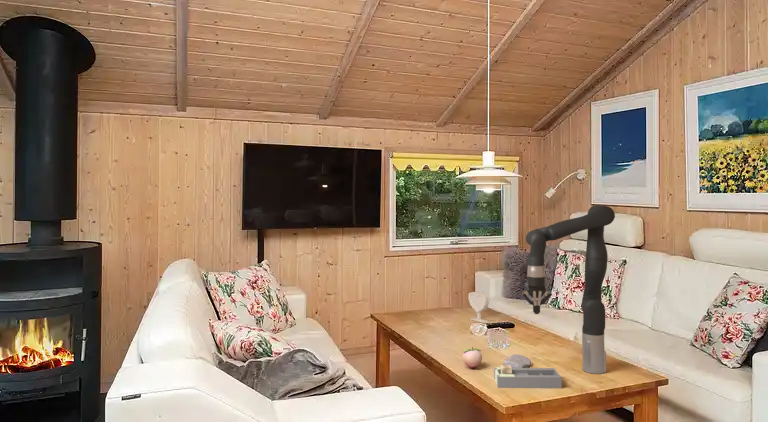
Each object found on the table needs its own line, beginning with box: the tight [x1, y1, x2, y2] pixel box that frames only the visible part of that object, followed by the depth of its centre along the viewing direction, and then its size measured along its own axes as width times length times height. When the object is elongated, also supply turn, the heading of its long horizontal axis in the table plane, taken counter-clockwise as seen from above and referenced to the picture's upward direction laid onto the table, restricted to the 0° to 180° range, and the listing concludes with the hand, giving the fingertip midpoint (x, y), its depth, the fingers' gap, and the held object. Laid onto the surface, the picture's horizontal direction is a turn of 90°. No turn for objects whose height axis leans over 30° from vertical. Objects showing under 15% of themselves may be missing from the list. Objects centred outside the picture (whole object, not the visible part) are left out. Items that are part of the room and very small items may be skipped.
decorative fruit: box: [462, 346, 483, 369], centre depth 235 cm, size 9×8×10 cm
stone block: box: [503, 353, 532, 368], centre depth 237 cm, size 12×5×10 cm
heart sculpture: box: [468, 291, 490, 324], centre depth 325 cm, size 16×5×18 cm, turn 34°
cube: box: [500, 364, 512, 374], centre depth 216 cm, size 4×4×4 cm
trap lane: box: [493, 366, 563, 389], centre depth 215 cm, size 26×12×5 cm, turn 86°
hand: (536, 313), depth 226 cm, fingers closed
